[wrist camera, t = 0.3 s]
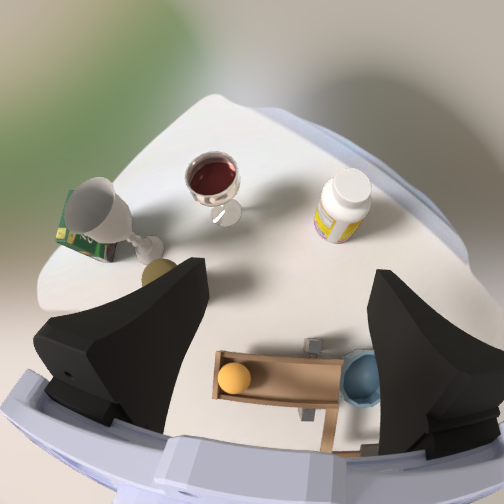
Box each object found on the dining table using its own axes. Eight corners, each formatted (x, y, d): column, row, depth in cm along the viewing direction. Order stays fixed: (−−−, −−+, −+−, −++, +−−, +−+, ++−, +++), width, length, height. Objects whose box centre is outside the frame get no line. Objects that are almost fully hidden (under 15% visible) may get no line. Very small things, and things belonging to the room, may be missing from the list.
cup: (381, 399, 35) (391, 405, 31) (331, 401, 36) (336, 408, 32) (386, 348, 37) (397, 350, 34) (336, 349, 38) (343, 351, 34)
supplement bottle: (357, 212, 44) (383, 170, 31) (349, 249, 42) (376, 217, 30) (318, 199, 45) (331, 154, 32) (308, 237, 43) (320, 200, 31)
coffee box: (113, 265, 44) (66, 242, 32) (100, 263, 44) (52, 240, 32) (123, 220, 46) (82, 187, 34) (110, 220, 47) (68, 187, 34)
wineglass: (233, 239, 44) (219, 206, 32) (197, 220, 45) (173, 184, 34) (255, 203, 45) (249, 162, 34) (219, 187, 46) (203, 144, 35)
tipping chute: (379, 462, 28) (385, 471, 25) (215, 453, 32) (208, 461, 29) (396, 354, 32) (404, 356, 29) (223, 347, 37) (216, 348, 34)
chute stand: (308, 410, 36) (313, 421, 31) (297, 410, 36) (301, 421, 31) (315, 339, 39) (322, 340, 34) (304, 338, 39) (309, 340, 34)
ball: (253, 392, 33) (244, 399, 29) (223, 388, 34) (211, 393, 30) (255, 363, 34) (247, 366, 30) (225, 359, 35) (214, 361, 31)
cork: (204, 270, 43) (182, 250, 32) (204, 310, 41) (181, 303, 31) (166, 272, 43) (135, 253, 33) (166, 310, 41) (133, 303, 31)
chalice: (134, 276, 43) (65, 243, 26) (127, 238, 45) (64, 192, 28) (174, 262, 43) (118, 219, 26) (165, 224, 45) (112, 167, 28)
